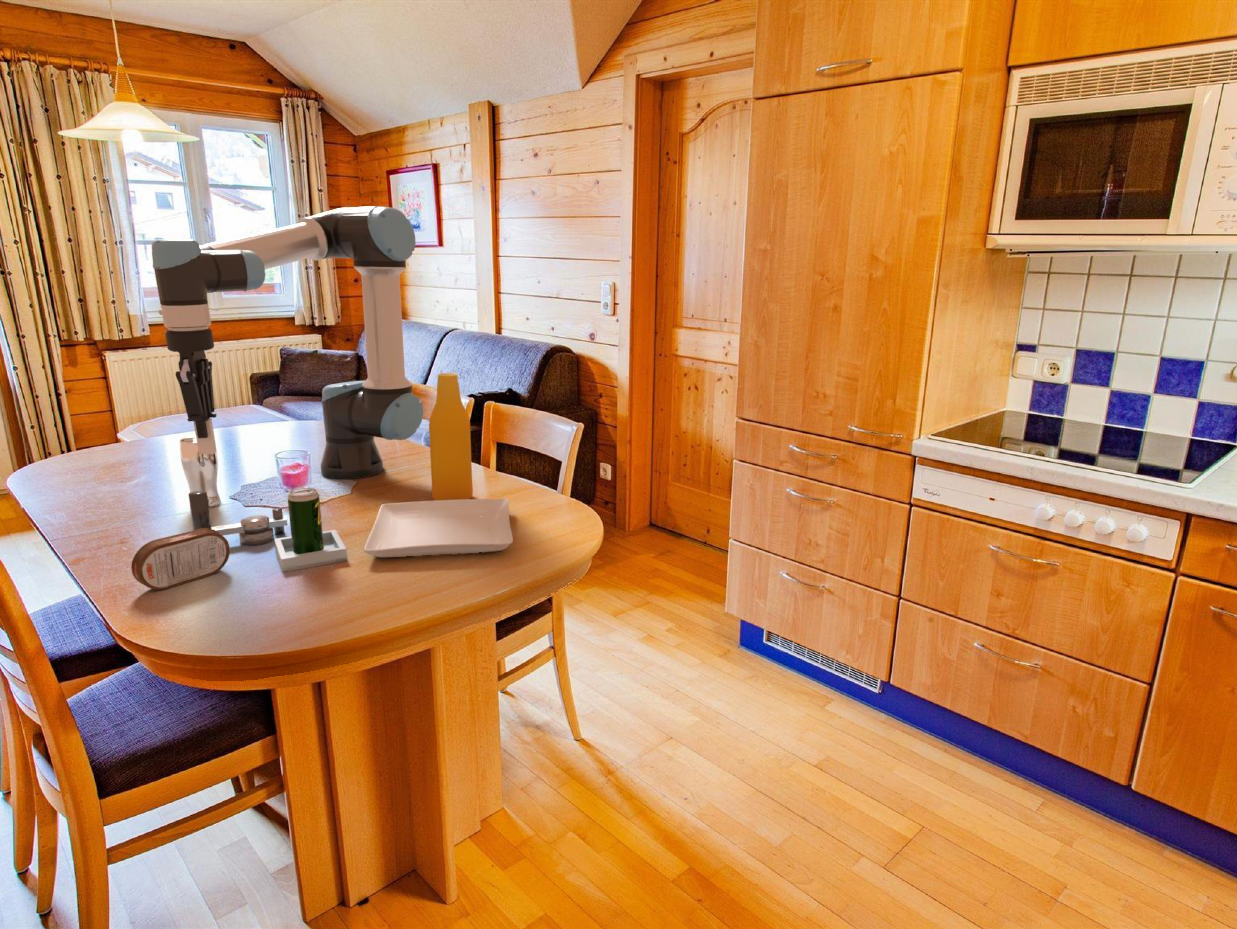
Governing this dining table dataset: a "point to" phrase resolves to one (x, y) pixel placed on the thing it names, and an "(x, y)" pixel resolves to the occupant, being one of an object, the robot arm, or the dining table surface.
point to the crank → (247, 524)
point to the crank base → (262, 533)
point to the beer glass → (200, 470)
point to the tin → (180, 558)
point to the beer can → (305, 520)
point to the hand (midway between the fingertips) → (207, 452)
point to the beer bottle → (450, 443)
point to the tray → (330, 553)
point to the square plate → (440, 528)
